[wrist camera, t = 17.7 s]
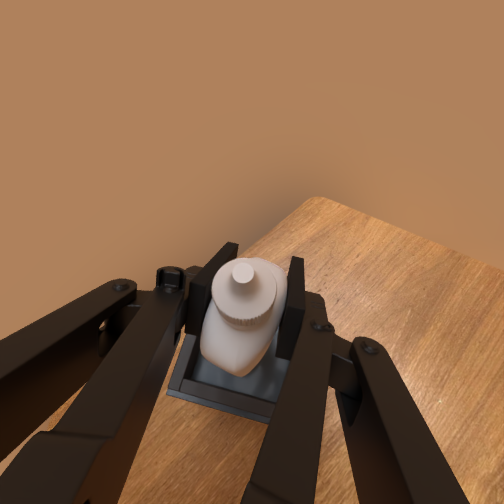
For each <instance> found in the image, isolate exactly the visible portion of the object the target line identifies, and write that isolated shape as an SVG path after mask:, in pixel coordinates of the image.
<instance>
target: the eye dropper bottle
mask: <svg viewBox="0 0 504 504" xmlns="http://www.w3.org/2000/svg"><path fill="white" fill-rule="evenodd" d="M215 275H216V276H215V277H214V279H213V283H212V286H211V287H212V289H211V291H212V293H211V294H212V299H211V301H210V304H209V306H208V309H207V311H206V314H205V318H204V322H203V326H202V331H201V338H200V349H201V354H202V355H203V357H204V358H205V359H206V360H208V361H209V362H211V363H213V364H214V365H216V366H218V367H219V368H221V369H223V370H225V371H227V372H228V373H230V374H233V375H235V376H239V377H243V376H245V375H247V374H248V373H249V372H250V371H251V370H252V369H253V368H254V367H255V366H256V365H257V364H258V363H259V361H260V360H261V359H262V357H263V356H264V354H265V353H266V351H267V349H268V347H269V345H270V343H271V341H272V339H273V337H274V335H275V333H276V331H277V329H278V326H279V324H280V322H281V319H282V316H283V313H284V309H285V305H286V299H287V276H286V273H285V271H284V270H283V269H282V268H281V267H279V266H278V265H276V264H274V263H272V262H269V261H267V260H265V259H262V258H258V257H253V258H238V259H235V260H232V261H229V262H227V263H226V264H224V266H221V268H220V269H219V271H217V273H216V274H215Z"/></svg>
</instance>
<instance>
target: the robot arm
mask: <svg viewBox="0 0 504 504" xmlns="http://www.w3.org/2000/svg"><path fill="white" fill-rule="evenodd" d="M238 245H239V244H236V243H231V242H227V243H226V244H225V245H224V246H223V247H222V248H221V249H220V250H219V252H218V253H217V254H216V255H215V256H214V257H213V258H212V259H211V260H210V261H209V262H208V263H207V264H206V265H205V266H204V267H203V268H202V267H198V266H192V267H189V268H187V269H186V270H184V269H182V268H179V267H173V266H167V267H162V268H159V269H158V270H157V275H156V287H155V288H154V290H153V291H141V290H137V284H136V282H134V281H132V280H128V279H116V280H112V281H109V282H107V283H105V284H103V285H101V286H99V287H98V288H96V289H94V290H92V291H91V292H88V293H87V294H85V295H83V296H81V297H79V298H77V299H76V300H74V301H72V302H70V303H68V304H66V305H65V306H63V307H61V308H59V309H57V310H56V311H54V312H52V313H50V314H48V315H46V316H44V317H43V318H41V319H39V320H37V321H35V322H33V323H31V324H30V325H28V326H26V327H24V328H22V329H20V330H19V331H17V332H15V333H13V334H11V335H9V336H8V337H6V338H4V339H2V340H0V462H1V461H2V460H3V459H5V458H6V457H7V456H8V455H9V454H10V453H11V452H12V451H13V450H14V449H15V448H16V447H17V446H19V445H20V444H21V443H22V442H23V441H24V440H25V439H26V438H27V437H28V436H29V435H30V434H31V433H33V432H34V431H35V430H36V429H37V428H38V427H39V426H40V425H41V424H42V423H43V422H44V421H45V420H47V419H48V418H49V416H51V415H52V414H53V413H54V412H55V411H56V410H57V409H58V408H59V407H60V406H62V405H63V404H64V403H65V402H66V401H67V400H68V399H69V398H70V397H71V396H72V395H73V394H74V393H76V392H77V391H78V390H79V389H80V388H81V387H82V386H83V385H84V384H85V383H86V382H87V381H88V382H87V383H86V384H85V386H84V387H83V389H82V390H81V391H80V393H79V394H78V396H77V397H76V398H75V400H74V401H73V403H72V404H71V405H70V407H69V408H68V410H67V411H66V412H65V414H64V415H63V416H62V418H61V419H60V421H59V422H58V423H57V425H56V426H55V427H54V428H53V429H52V430H50V431H40V432H38V433H37V434H35V435H34V436H33V437H32V438H31V439H30V440H29V441H28V442H27V443H26V444H25V445H24V446H23V448H22V449H21V450H20V452H19V453H18V454H17V455H16V457H15V458H14V459H13V461H12V462H11V463H10V465H9V466H8V467H7V468H6V470H5V471H4V472H3V473H2V475H1V476H0V504H117V503H118V500H119V498H120V495H121V492H122V490H123V487H124V484H125V482H126V479H127V477H128V474H129V471H130V469H131V466H132V463H133V461H134V458H135V456H136V453H137V450H138V448H139V445H140V442H141V440H142V437H143V435H144V432H145V429H146V427H147V424H148V421H149V419H150V416H151V413H152V411H153V408H154V406H155V403H156V400H157V398H158V395H159V392H160V390H161V387H162V385H163V382H164V379H165V377H166V374H167V371H168V369H169V366H170V364H171V361H172V358H173V356H174V353H175V350H176V348H177V345H178V343H179V340H180V336H181V329H182V327H183V326H184V324H185V332H184V333H187V334H190V335H194V336H198V337H200V335H201V331H202V326H203V322H204V318H205V314H206V311H207V309H208V306H209V304H210V301H211V299H212V294H211V293H212V291H211V289H212V287H211V286H212V283H213V279H214V277H215V276H216V275H215V274H216V273H217V271H219V269H220V268H221V266H224V264H226V263H227V262H229V261H232V260H235V259H236V257H237V251H238ZM103 322H104V323H105V325H104V326H103V327H101V328H100V329H99V327H100V325H101V324H102V323H103ZM334 332H335V330H334V327H333V325H332V324H331V323H330V322H328V318H327V313H326V307H325V302H324V299H323V298H322V297H321V295H320V294H316V293H312V292H308V291H305V279H304V258H299V257H295V256H292V259H291V263H290V268H289V272H288V276H287V299H286V305H285V309H284V313H283V316H282V319H281V322H280V324H279V330H278V338H277V345H276V353H275V357H277V358H281V359H285V360H289V361H290V363H289V366H288V369H287V372H286V375H285V378H284V381H283V384H282V387H281V390H280V393H279V396H278V399H277V401H276V404H275V407H274V410H273V413H272V416H271V419H270V422H269V425H268V428H267V431H266V434H265V437H264V440H263V443H262V446H261V448H260V451H259V454H258V457H257V460H256V463H255V466H254V469H253V472H252V475H251V478H250V480H249V482H248V484H247V486H246V488H245V491H244V494H243V497H242V500H241V503H240V504H314V499H315V490H316V482H317V474H318V466H319V457H320V449H321V441H322V432H323V424H324V416H325V407H326V399H327V391H328V385H329V386H330V387H332V388H334V389H335V395H336V399H337V404H338V409H339V413H340V418H341V422H342V427H343V431H344V436H345V441H346V445H347V450H348V454H349V459H350V463H351V468H352V472H353V477H354V482H355V486H356V491H357V495H358V500H359V504H470V503H469V501H468V499H467V498H466V496H465V494H464V492H463V490H462V488H461V486H460V485H459V483H458V481H457V479H456V477H455V475H454V474H453V472H452V470H451V468H450V466H449V464H448V463H447V461H446V459H445V457H444V455H443V453H442V452H441V450H440V448H439V446H438V444H437V442H436V440H435V439H434V437H433V435H432V433H431V431H430V429H429V428H428V426H427V424H426V422H425V420H424V418H423V417H422V415H421V413H420V411H419V409H418V407H417V406H416V404H415V402H414V400H413V398H412V396H411V395H410V393H409V391H408V389H407V387H406V385H405V383H404V382H403V380H402V378H401V376H400V374H399V372H398V371H397V369H396V367H395V365H394V363H393V361H392V360H391V358H390V356H389V354H388V352H387V351H386V349H385V348H384V347H383V346H382V345H381V344H379V343H378V342H377V341H375V340H373V339H371V338H367V337H360V336H359V337H355V338H354V340H353V342H349V341H347V340H345V339H343V338H341V337H339V336H338V335H336V334H335V333H334Z"/></svg>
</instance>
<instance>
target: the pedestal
mask: <svg viewBox="0 0 504 504" xmlns="http://www.w3.org/2000/svg"><path fill="white" fill-rule="evenodd" d="M278 330H279V326H278V329H277V331H276V333H275V335H274V337H273V339H272V341H271V343H270V345H269V347H268V349H267V351H266V353H265V354H264V356H263V357H262V359H261V360H260V361H259V363H258V364H257V365H256V366H255V367H254V368H253V369H252V370H251V371H250V372H249V373H248V374H247V375H245V376H243V377H239V376H235V375H233V374H230V373H228V372H227V371H225V370H223V369H221V368H219V367H218V366H216V365H214V364H213V363H211V362H209V361H208V360H206V359H205V358H204V357H203V355H202V354H201V349H200V338H201V335H200V337H198V336H194V335H190V334H187V333H186V335H185V338H184V341H183V344H182V347H181V350H180V353H179V356H178V359H177V362H176V364H175V367H174V370H173V373H172V376H171V379H170V382H169V385H168V389H167V392H166V395H169V396H172V397H176V398H179V399H183V400H186V401H190V402H193V403H196V404H200V405H203V406H207V407H210V408H214V409H217V410H220V411H224V412H227V413H231V414H234V415H238V416H241V417H244V418H248V419H251V420H255V421H258V422H262V423H265V424H268V425H269V422H270V419H271V416H272V413H273V410H274V407H275V404H276V401H277V399H278V396H279V393H280V390H281V387H282V384H283V381H284V378H285V375H286V372H287V369H288V366H289V363H290V361H289V360H285V359H281V358H277V357H275V353H276V345H277V338H278Z"/></svg>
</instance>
